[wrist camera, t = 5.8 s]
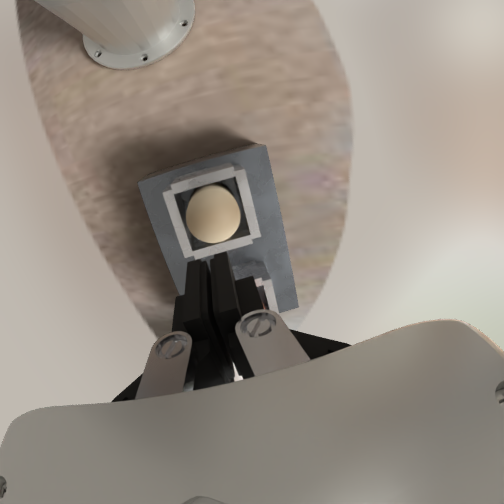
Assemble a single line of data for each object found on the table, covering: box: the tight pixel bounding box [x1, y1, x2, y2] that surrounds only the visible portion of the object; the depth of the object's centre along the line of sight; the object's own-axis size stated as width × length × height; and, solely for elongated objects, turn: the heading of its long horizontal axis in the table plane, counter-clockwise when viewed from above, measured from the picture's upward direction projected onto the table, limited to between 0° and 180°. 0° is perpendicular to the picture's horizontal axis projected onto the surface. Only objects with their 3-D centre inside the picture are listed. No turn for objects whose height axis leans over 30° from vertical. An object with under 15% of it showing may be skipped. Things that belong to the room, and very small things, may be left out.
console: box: [137, 143, 299, 316], centre depth 28 cm, size 18×12×9 cm, turn 13°
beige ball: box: [186, 182, 240, 243], centre depth 23 cm, size 4×4×4 cm
